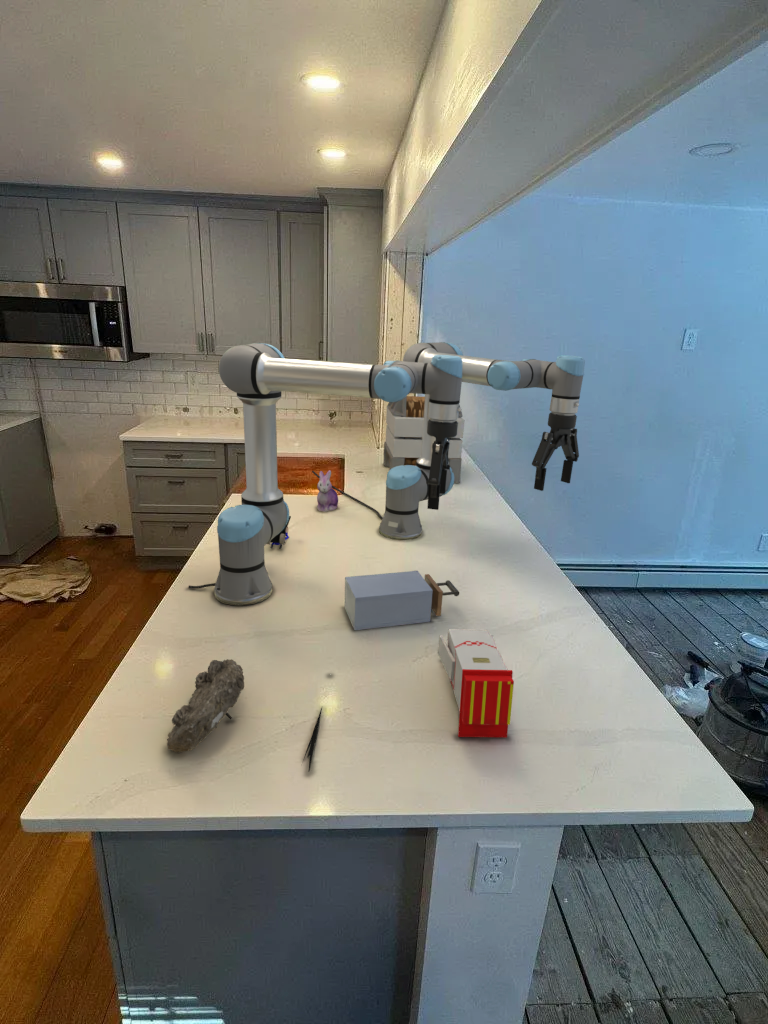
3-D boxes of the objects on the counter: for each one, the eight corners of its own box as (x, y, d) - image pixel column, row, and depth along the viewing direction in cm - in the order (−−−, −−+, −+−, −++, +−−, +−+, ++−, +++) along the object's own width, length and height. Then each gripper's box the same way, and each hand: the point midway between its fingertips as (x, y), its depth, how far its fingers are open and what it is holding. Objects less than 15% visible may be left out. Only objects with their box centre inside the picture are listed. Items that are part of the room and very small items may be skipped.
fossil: (192, 660, 117) (244, 628, 112) (224, 691, 120) (276, 661, 115) (142, 746, 98) (202, 712, 93) (182, 779, 101) (242, 748, 96)
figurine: (320, 513, 215) (320, 475, 210) (311, 505, 224) (311, 468, 219) (343, 510, 219) (344, 473, 214) (333, 502, 228) (333, 466, 223)
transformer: (382, 463, 289) (386, 382, 275) (445, 464, 293) (451, 384, 279) (390, 482, 257) (394, 392, 243) (460, 483, 261) (468, 394, 247)
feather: (331, 679, 122) (336, 673, 122) (307, 777, 96) (313, 769, 95) (324, 675, 122) (329, 669, 121) (298, 772, 95) (304, 764, 95)
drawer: (446, 595, 156) (448, 572, 154) (460, 613, 147) (463, 589, 145) (361, 603, 150) (361, 579, 147) (371, 623, 141) (372, 598, 138)
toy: (488, 613, 130) (523, 677, 101) (484, 667, 133) (517, 744, 104) (435, 612, 130) (455, 676, 101) (432, 666, 133) (451, 743, 103)
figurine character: (285, 555, 182) (292, 533, 195) (285, 534, 178) (291, 513, 192) (264, 554, 181) (272, 532, 195) (263, 534, 178) (271, 512, 191)
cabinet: (415, 600, 155) (417, 570, 152) (430, 621, 145) (432, 590, 142) (344, 607, 149) (345, 576, 146) (354, 630, 139) (355, 597, 136)
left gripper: (452, 430, 129) (445, 518, 136) (462, 412, 152) (456, 488, 159) (419, 427, 130) (414, 514, 137) (435, 410, 153) (429, 485, 160)
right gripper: (548, 419, 148) (537, 496, 155) (598, 411, 163) (586, 482, 171) (525, 414, 153) (515, 489, 160) (575, 407, 169) (564, 476, 176)
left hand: (436, 500), depth 148 cm, fingers open, 13 cm apart
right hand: (552, 485), depth 166 cm, fingers open, 13 cm apart
